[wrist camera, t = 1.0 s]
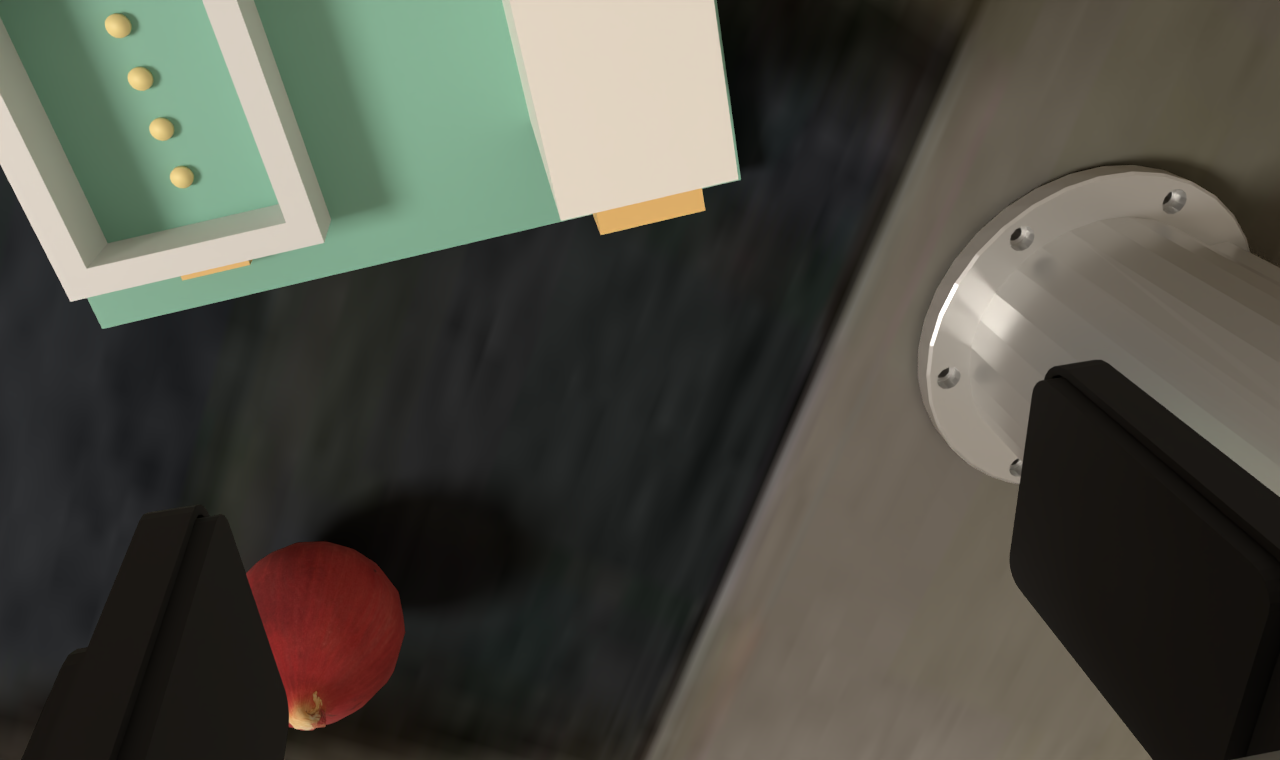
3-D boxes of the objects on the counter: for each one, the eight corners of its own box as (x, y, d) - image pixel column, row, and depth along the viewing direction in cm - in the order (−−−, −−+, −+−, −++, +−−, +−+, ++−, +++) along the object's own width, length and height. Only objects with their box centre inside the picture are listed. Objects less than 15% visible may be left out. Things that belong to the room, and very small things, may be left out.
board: (672, -264, 27) (697, -275, 24) (733, 170, 33) (758, 199, 30) (-95, -106, 25) (-157, -100, 23) (112, 315, 31) (81, 358, 29)
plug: (627, -112, 27) (701, -92, 19) (665, 110, 30) (742, 205, 22) (482, -81, 27) (498, -48, 19) (535, 140, 30) (567, 246, 22)
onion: (299, 645, 39) (267, 823, 32) (206, 540, 36) (149, 710, 29) (435, 581, 38) (433, 746, 31) (352, 470, 35) (329, 624, 28)
